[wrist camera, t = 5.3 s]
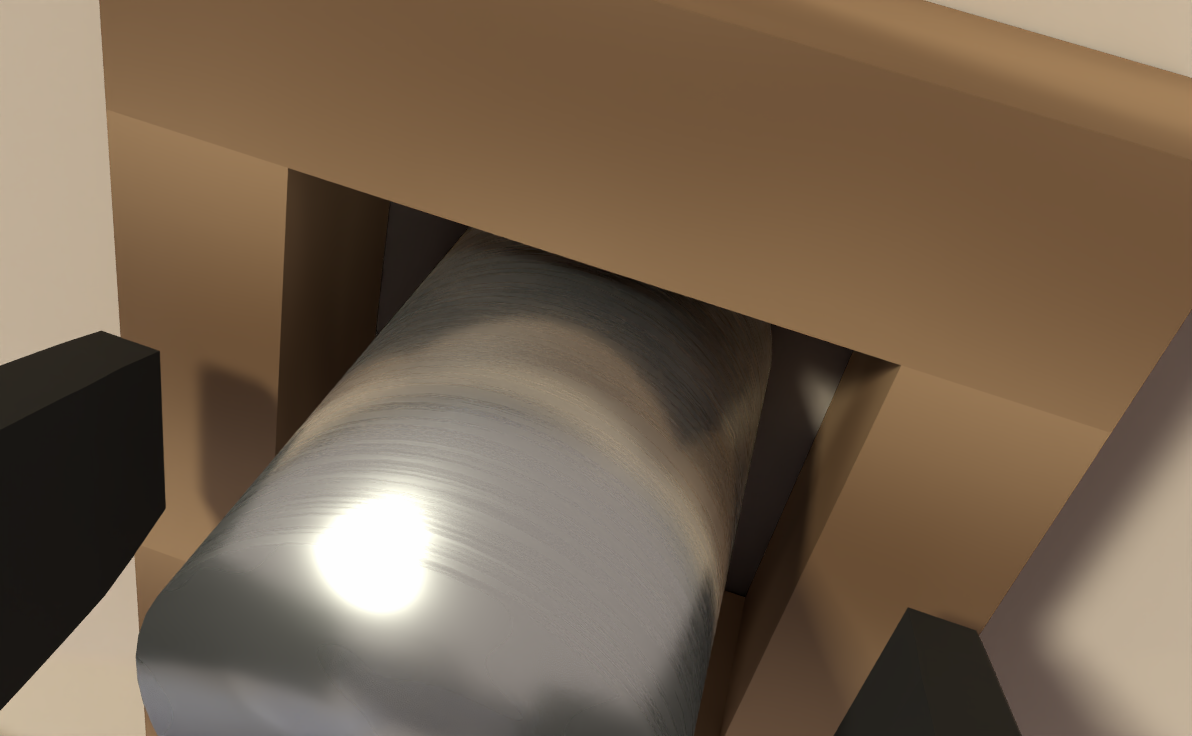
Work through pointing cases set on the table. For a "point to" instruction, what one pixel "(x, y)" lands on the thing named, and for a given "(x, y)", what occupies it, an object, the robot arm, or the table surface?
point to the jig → (678, 255)
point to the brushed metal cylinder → (481, 522)
